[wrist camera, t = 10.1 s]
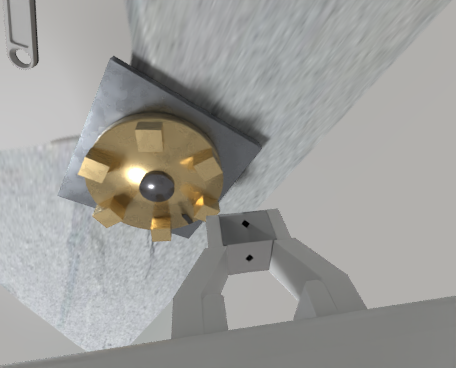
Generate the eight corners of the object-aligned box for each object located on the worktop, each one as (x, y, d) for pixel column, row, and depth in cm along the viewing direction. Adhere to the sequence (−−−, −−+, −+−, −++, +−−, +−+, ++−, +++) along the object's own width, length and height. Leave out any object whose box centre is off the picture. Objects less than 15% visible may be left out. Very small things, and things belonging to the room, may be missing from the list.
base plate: (113, 55, 31) (109, 59, 29) (258, 142, 42) (262, 148, 40) (62, 188, 42) (56, 196, 40) (188, 231, 52) (188, 239, 50)
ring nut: (58, 153, 35) (41, 175, 31) (179, 86, 32) (178, 100, 28) (145, 232, 47) (141, 256, 43) (240, 189, 44) (246, 210, 40)
